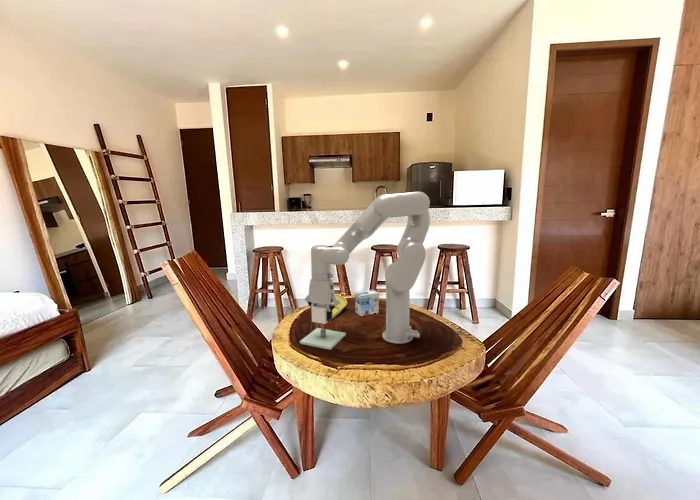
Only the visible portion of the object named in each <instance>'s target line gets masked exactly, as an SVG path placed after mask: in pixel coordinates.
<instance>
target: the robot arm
mask: <svg viewBox="0 0 700 500" xmlns="http://www.w3.org/2000/svg"><path fill="white" fill-rule="evenodd" d="M430 204H431V200H430V197H429V196H428V195H427V194H426V193H425V192H422V191H411V192H402V193H401V192H400V193H383V194H381V195H380V194H379V195H378V196H377V197H376V198H375V199H374V200H373V201H372V202H371V204H369V205H368V207H367V208H366V209H364V211H363V212H362V213H361V215H359V216H358V217H357V219H355V221H353V223H352V224H351V225H350V226H349V228H348V229H347V230H346V231H345V232H344V233H343V235H342V236H341V237H340V238H339V239H337V241H336V242H335V243H334V244H333V245H332V246H330V247H329V246H328V245H325V244H317V245H313V246H311V248H310V259H311V260H310V264H311V268H310V269H311V278H310V281H309V284H308V285H309V286H308V294H307V295H306V296H305V297H304V300H305V301H306V303H307V304H308V306H309V307H310V309H311V308H312V307H313V306H315V305H317V304H323V305H326V307H327V310H328V311H327V321H328V322H330V321H331V320H333V319H332V310H333V309H334V308H335V307H336V306H337V305H338V304H339V302H338V301H337V299H336V298H335V295H336V292H335V286H334V285H335V284H334V280H333V278H334V274H332V273H331V265H333V266H342V265H345V264H346V263H348V262H349V259H350V254H351V253H352V252H353V251H354V250H355V249H356V248H357V247H358V246H359V245H360V244H361V243H362V242H363V241H364V240H366V239H369V238H370V237H371V236H373V235H374V234H375V232H376V231H377V230H378V229H379V228H380V227H381V225H383V224H384V222H386V220H387V219H388V218H399V217H401V218H402V217H407V222H406V226H405V230H404V231H403V233H402V236H401V238H400V240H399V243H398V245H397V247H396V253H397V256H398V257H397V260H396V261H394V262H392V263H390V264H389V265H388V266H387V267H386V269H385V273H384V278H385V279H384V281H385V330H384V331H382V335H381V337H382V339H383V340H384V341H385V342H387V343H391V344H398V345H402V344H407V343H410V342H411V341H412V340H413V339H414V338H418V339H419V338H420V332H419V331H418V330H414V329H412V325H410V297H411V295H410V291H411V290H412V288H413V287H414V285H415V284H416V281H417V280H418V277H419V275H420V273H421V270H422V268H423V266H424V263H425V260H426V258H427V252H426V251H427V250H426V247H425V246H424V242H425V239H426V237H427V234H428V232H429V228H430V223H431V217H430V216H431V215H430V212H429V208H430ZM331 302H334V304H333V305H332V303H331Z"/></svg>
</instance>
